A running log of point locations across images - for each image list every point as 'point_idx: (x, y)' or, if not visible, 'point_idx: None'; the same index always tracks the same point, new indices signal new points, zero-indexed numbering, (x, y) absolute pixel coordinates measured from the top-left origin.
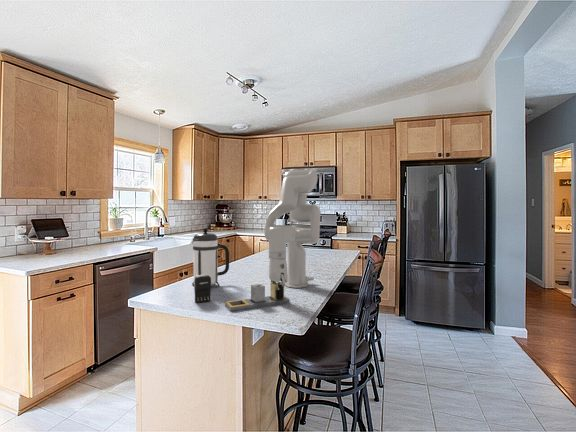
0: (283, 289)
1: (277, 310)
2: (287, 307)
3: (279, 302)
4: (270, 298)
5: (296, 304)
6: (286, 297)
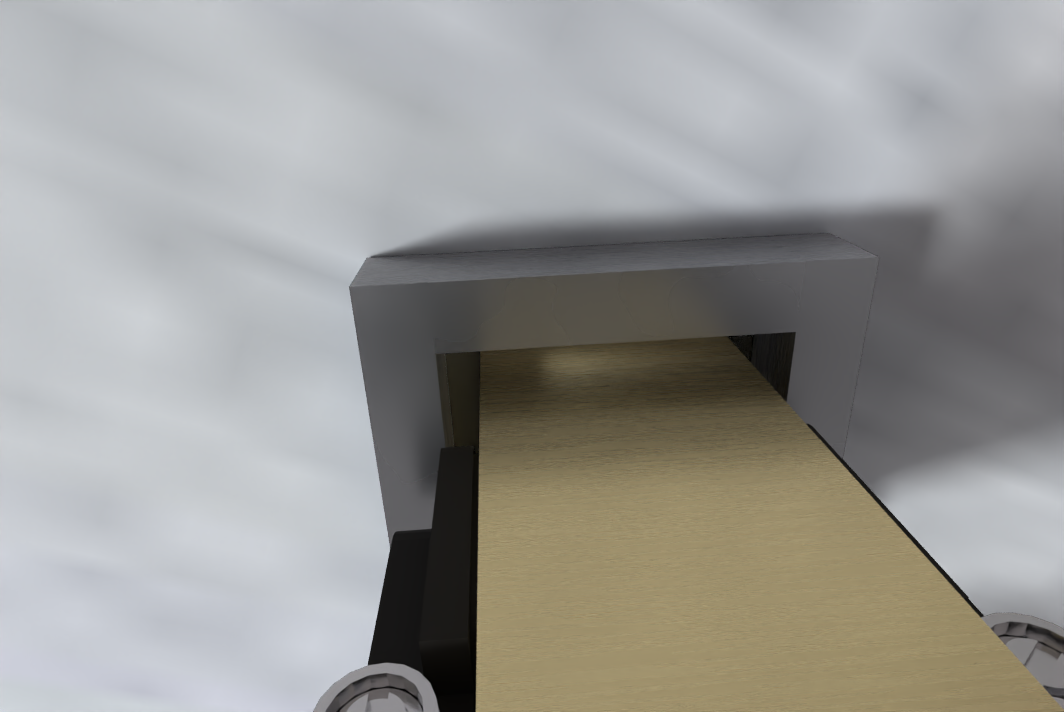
0: (1028, 624)
1: (1046, 586)
2: (1040, 390)
3: None
4: None
5: (1015, 120)
6: (685, 273)
